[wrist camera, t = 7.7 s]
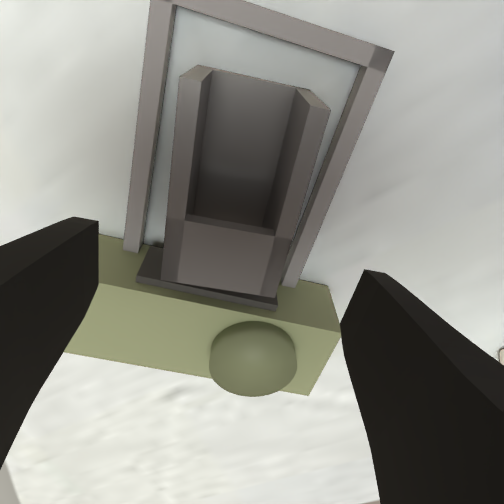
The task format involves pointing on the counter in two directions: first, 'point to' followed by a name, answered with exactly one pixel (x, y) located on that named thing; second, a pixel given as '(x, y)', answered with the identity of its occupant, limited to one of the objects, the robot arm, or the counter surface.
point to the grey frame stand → (210, 299)
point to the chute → (238, 179)
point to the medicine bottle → (502, 356)
